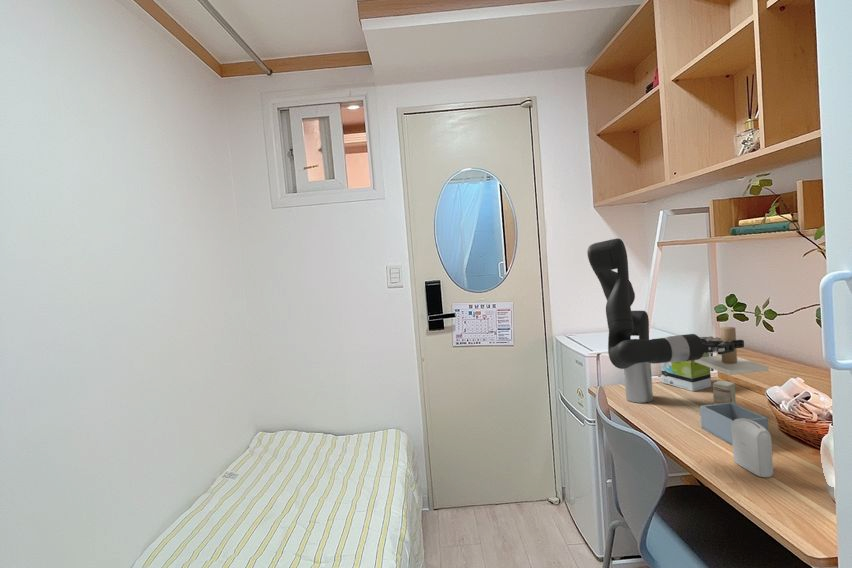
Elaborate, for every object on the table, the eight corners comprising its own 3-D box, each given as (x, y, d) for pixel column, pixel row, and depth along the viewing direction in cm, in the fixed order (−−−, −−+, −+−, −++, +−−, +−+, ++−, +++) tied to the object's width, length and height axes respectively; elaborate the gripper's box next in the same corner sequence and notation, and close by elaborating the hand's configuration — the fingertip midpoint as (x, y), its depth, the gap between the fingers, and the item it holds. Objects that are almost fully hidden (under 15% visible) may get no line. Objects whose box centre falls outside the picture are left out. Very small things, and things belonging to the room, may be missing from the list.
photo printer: (730, 461, 129) (728, 415, 128) (746, 459, 129) (744, 413, 129) (759, 479, 119) (756, 429, 118) (776, 477, 119) (774, 427, 118)
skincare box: (713, 412, 164) (711, 382, 164) (721, 409, 166) (719, 379, 166) (729, 416, 160) (727, 385, 159) (737, 412, 162) (735, 382, 161)
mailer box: (701, 428, 152) (700, 405, 152) (732, 424, 153) (731, 402, 152) (734, 446, 137) (733, 422, 137) (769, 442, 138) (767, 418, 137)
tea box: (661, 383, 201) (658, 347, 200) (679, 379, 204) (677, 343, 203) (693, 392, 186) (690, 353, 186) (712, 387, 190) (710, 349, 189)
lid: (694, 362, 152) (692, 325, 151) (729, 358, 152) (727, 322, 151) (730, 375, 136) (727, 334, 135) (768, 370, 136) (766, 330, 135)
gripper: (694, 339, 135) (754, 333, 136) (666, 331, 149) (721, 325, 150) (696, 366, 136) (756, 360, 137) (668, 355, 150) (722, 349, 151)
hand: (737, 342), depth 144 cm, fingers closed on lid, 3 cm apart
